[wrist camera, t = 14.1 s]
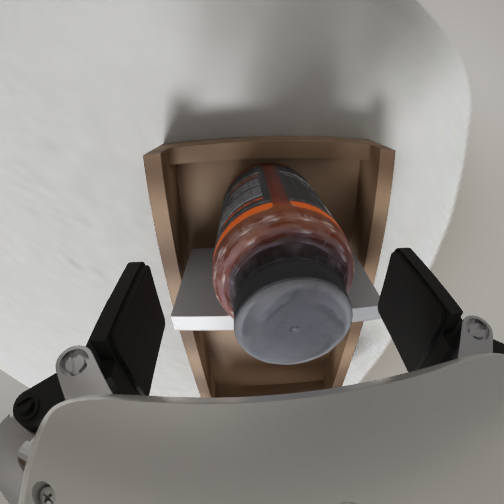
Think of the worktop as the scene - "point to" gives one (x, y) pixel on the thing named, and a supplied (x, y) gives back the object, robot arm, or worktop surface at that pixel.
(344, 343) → the pusher lane
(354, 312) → the pusher plate
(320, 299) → the supplement bottle
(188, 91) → the worktop surface
